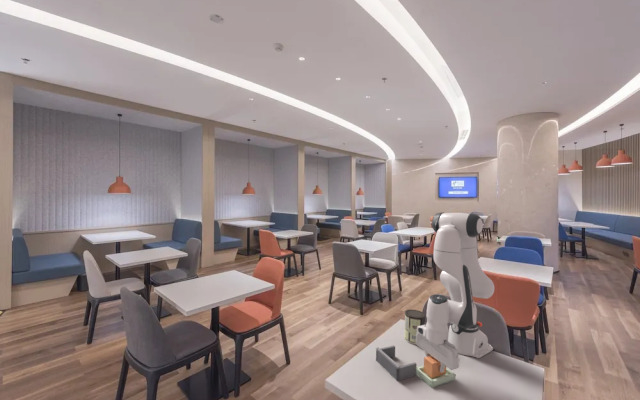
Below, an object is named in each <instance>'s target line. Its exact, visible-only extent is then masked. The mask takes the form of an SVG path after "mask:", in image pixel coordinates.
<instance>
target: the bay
mask: <svg viewBox="0 0 640 400" xmlns="http://www.w3.org/2000/svg"><path fill="white" fill-rule="evenodd" d="M375 349H376V350H375V351H376V353H375V361H376V362H377V363H378V364H379V365H380V366H381V367H382V368H383V369H384V370H385V371H386V372H387V373H389V375H390V376H392V378H394V379H395V380H396V381H397V382H398V381H402V380H405V379H408V378H411V377H414V376H417V375H416V367H418V365H417V363H416V362H412V363H408V364H405V365H399V364H398V363H396V361H394V360H393V359H392V358H395V357H396V346H395V345H390V346H386V347H381V348H380V347H379V346H377V347H375Z"/></svg>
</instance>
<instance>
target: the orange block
mask: <svg viewBox="0 0 640 400" xmlns="http://www.w3.org/2000/svg"><path fill="white" fill-rule="evenodd" d="M423 365H424V372H425V373H426V374H427V375H428V376H430V377H431V378H434V377H437V376H440V375H444V374H446V368H447V367H445V368H444V372H442V373H441V372H440V371H439V370H438V367H439V366H441V364H440V362H439V361H438V360H437V359H435V358H434V357H433V356H429V357H427V356H425V357H424V358H423Z"/></svg>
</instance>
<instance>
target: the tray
mask: <svg viewBox="0 0 640 400" xmlns="http://www.w3.org/2000/svg"><path fill="white" fill-rule="evenodd" d="M415 376H418V378H420V379H421V380H422V381H423V382H425V383H426V384H427V385H428V386H429V387H430V388H431V389H433V388H436V387H438V386H443V385H444V384H447V383H451V382H454V381H456V378H457V375H456V373H454V372H453V370H451V369H449V368H448V367H446V374H444V375H440V376H437V377H434V378H431V377H430V376H428V375H427V374H426V373H425V372H424V364H423V365H420V366H416V375H415Z"/></svg>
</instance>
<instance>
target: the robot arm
mask: <svg viewBox="0 0 640 400" xmlns="http://www.w3.org/2000/svg"><path fill="white" fill-rule="evenodd" d="M431 227H432V229H433V231H434V232H435V234H436V235H435V238H434V244H433V261H434V263H435V265H436V267H438V268H439V269H440V270H441V273H440V274H439V281H440V283H441V285H442V286H443V287H444V288H445V290H446V291H447V293H448V295H449V298H450V299H448V298H447V297H446V296H445V295H442V294H439V293H438V294H437V293H435V294H431V295H429V297H428V301H427V304H426V314H425V318H426V322H425V325H421V326H418V327H417V331H418V332H417V333H416V344H417V347H419V348H420V349H421V350H423V351H424V353H425V357H429V356H433V357H434V358H435V359H437V360H438V361H439V362H440V364H441V366H439V367H438V370H439V371H440V372H441V373H442V372H444V368H445V367H446V368H448V369H449V370H450V371H454V370H457V369H458V368H459V367H460V359H459V354H460V355H463V356H470V357H474V358H477V359H480V358H482V357H484V356H485V355H487V354H489V353H490V352H492V351H493V350H494V347H493V346H492V345H491V344H490V343H489V341H488V340H489V339H488V336H487V334H485V333H484V332H483V331H482V330H480V329H479V327H480V328H481V327H483V323H482V322H480V321H477V317H478V315H477V314H478V309H477V306H476V304H475V303H474V298H478V299H490V298H491V297H492V296H493V295H494V293H495V284H494V282H493V280H492V279H491V278H490V277H488V276H487V274H486V272H484V271H483V269H482V266H481V265H480V262H479V258H478V257H479V256H478V243H477V242H478V239H477V237H478V236H479V235H481V234H482V232H483V227H484V224H483V219H482V217H480V215H478V214H476V213H475V214H474V213H468V212H467V213H466V212H460V211H459V212H442V211H441V212H437V213H435V214H434V216H433V217H432V220H431ZM473 297H474V298H473ZM449 324H450V325H449ZM416 344H415V345H416Z"/></svg>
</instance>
